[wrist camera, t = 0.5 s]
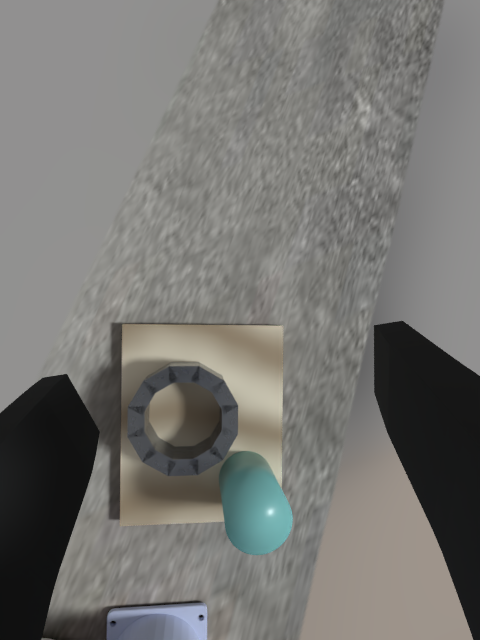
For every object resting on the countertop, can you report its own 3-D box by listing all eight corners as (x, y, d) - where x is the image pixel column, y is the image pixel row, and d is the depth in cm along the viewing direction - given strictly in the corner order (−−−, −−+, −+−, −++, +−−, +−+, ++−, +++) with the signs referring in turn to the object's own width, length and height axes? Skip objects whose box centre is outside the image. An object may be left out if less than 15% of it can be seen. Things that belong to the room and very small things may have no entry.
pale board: (278, 513, 34) (281, 519, 33) (122, 519, 32) (119, 526, 31) (280, 325, 34) (283, 325, 33) (124, 323, 32) (122, 324, 31)
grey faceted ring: (233, 460, 32) (237, 474, 29) (133, 462, 31) (126, 477, 28) (234, 361, 32) (238, 365, 29) (134, 361, 31) (127, 366, 29)
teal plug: (271, 503, 33) (292, 553, 26) (218, 505, 32) (224, 556, 25) (272, 450, 33) (292, 485, 26) (219, 451, 32) (225, 487, 25)
